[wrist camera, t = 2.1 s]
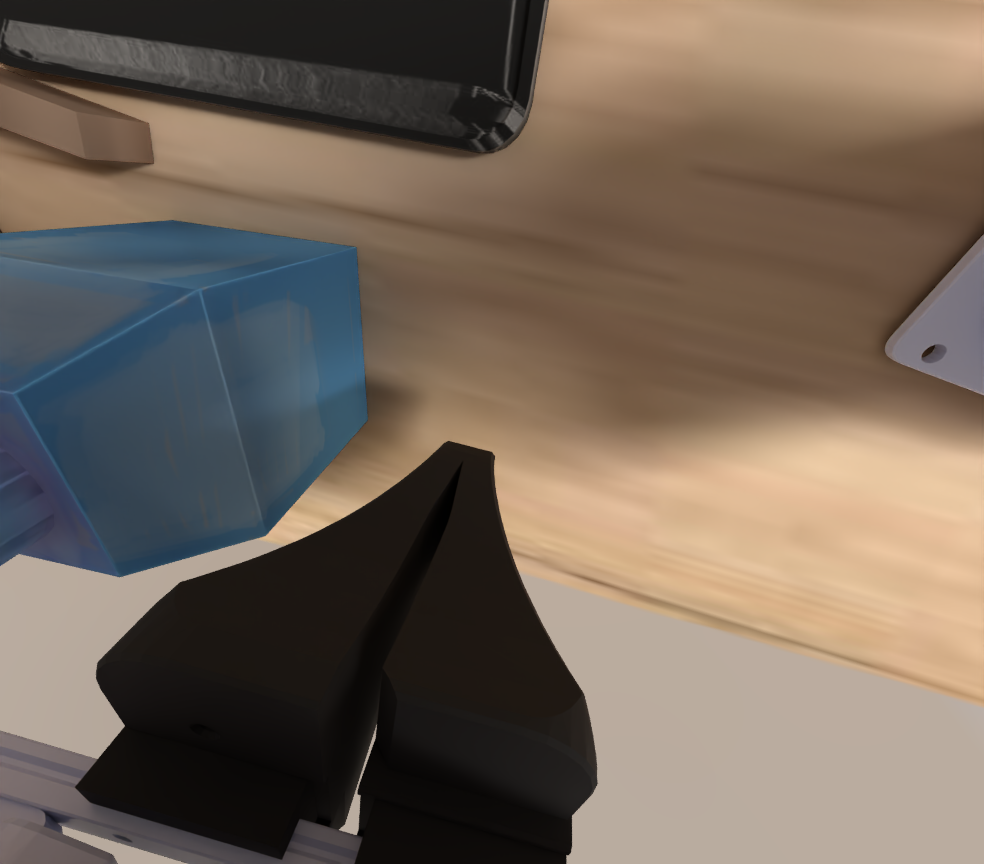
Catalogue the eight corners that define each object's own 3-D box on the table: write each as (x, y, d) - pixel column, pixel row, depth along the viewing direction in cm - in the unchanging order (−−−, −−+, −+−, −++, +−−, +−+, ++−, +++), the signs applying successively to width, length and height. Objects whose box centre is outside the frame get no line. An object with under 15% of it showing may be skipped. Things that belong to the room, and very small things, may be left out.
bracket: (148, 119, 11) (74, 106, 10) (185, 407, 17) (142, 432, 15) (-98, 26, 11) (-216, -3, 10) (18, 347, 17) (-44, 365, 15)
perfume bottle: (367, 419, 16) (-7, 844, 5) (220, 392, 16) (-371, 735, 6) (356, 247, 12) (-623, 506, 2) (172, 220, 13) (-1296, 331, 3)
